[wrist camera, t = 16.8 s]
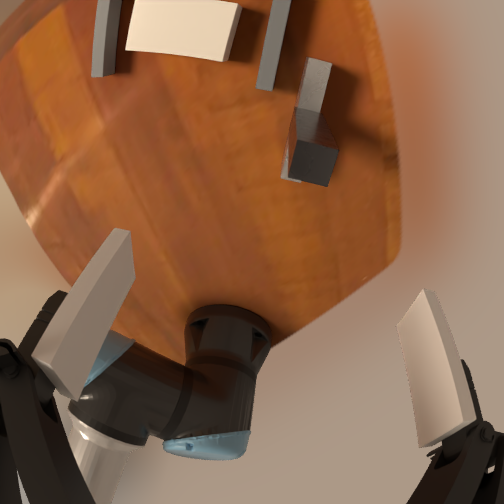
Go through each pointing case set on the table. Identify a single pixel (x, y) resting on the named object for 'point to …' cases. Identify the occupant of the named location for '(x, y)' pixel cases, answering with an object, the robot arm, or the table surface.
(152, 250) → the table surface
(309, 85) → the grey inverted t block
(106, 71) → the frame
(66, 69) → the table surface
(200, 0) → the cream tile
